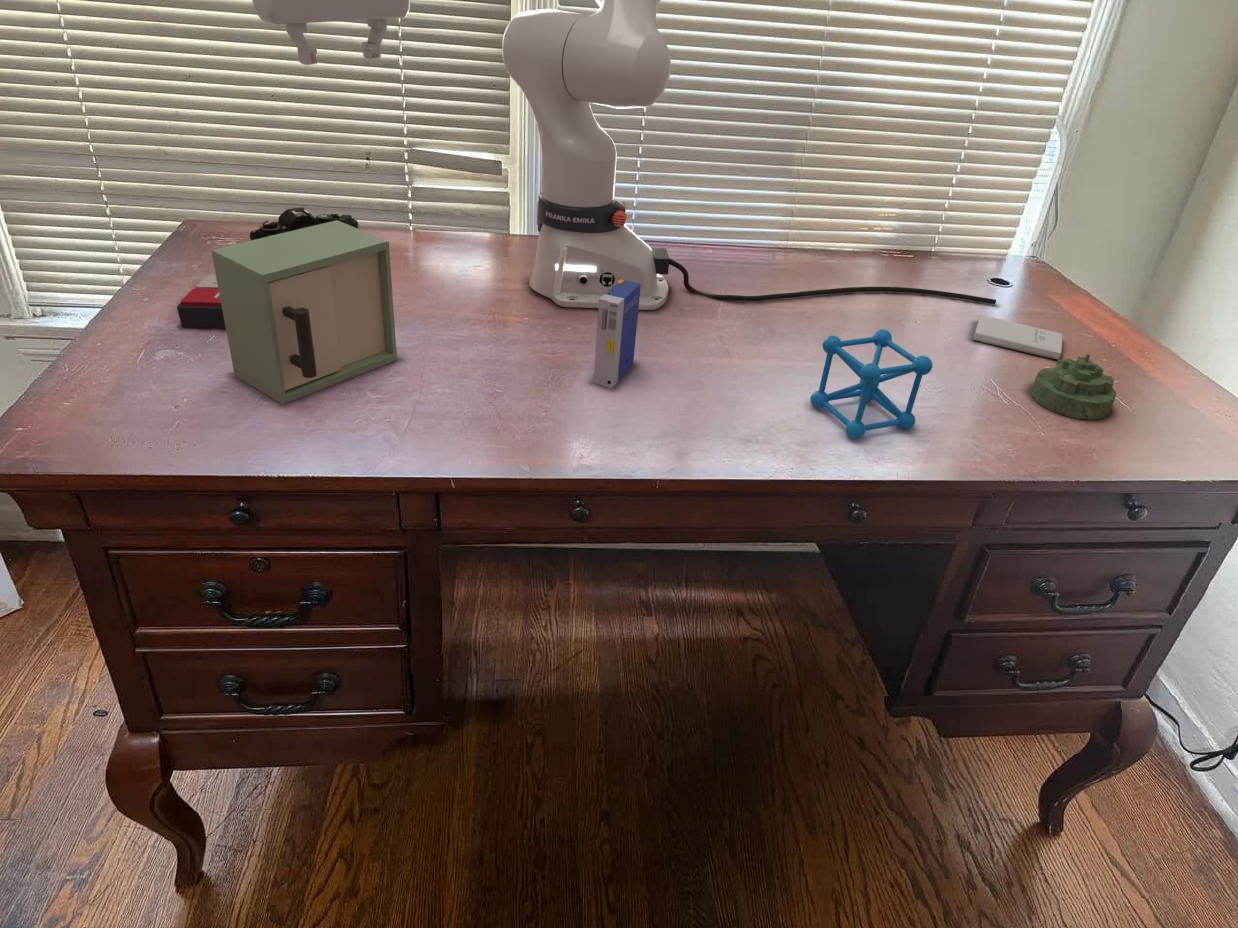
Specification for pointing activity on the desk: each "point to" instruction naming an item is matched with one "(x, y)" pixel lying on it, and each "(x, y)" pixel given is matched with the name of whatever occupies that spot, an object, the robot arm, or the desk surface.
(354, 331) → the cabinet
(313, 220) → the film camera
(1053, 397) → the decorative artifact
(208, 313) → the red and black box
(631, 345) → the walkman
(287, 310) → the door
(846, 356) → the molecular structure
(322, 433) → the desk surface
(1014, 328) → the hard drive
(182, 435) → the desk surface
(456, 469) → the desk surface
